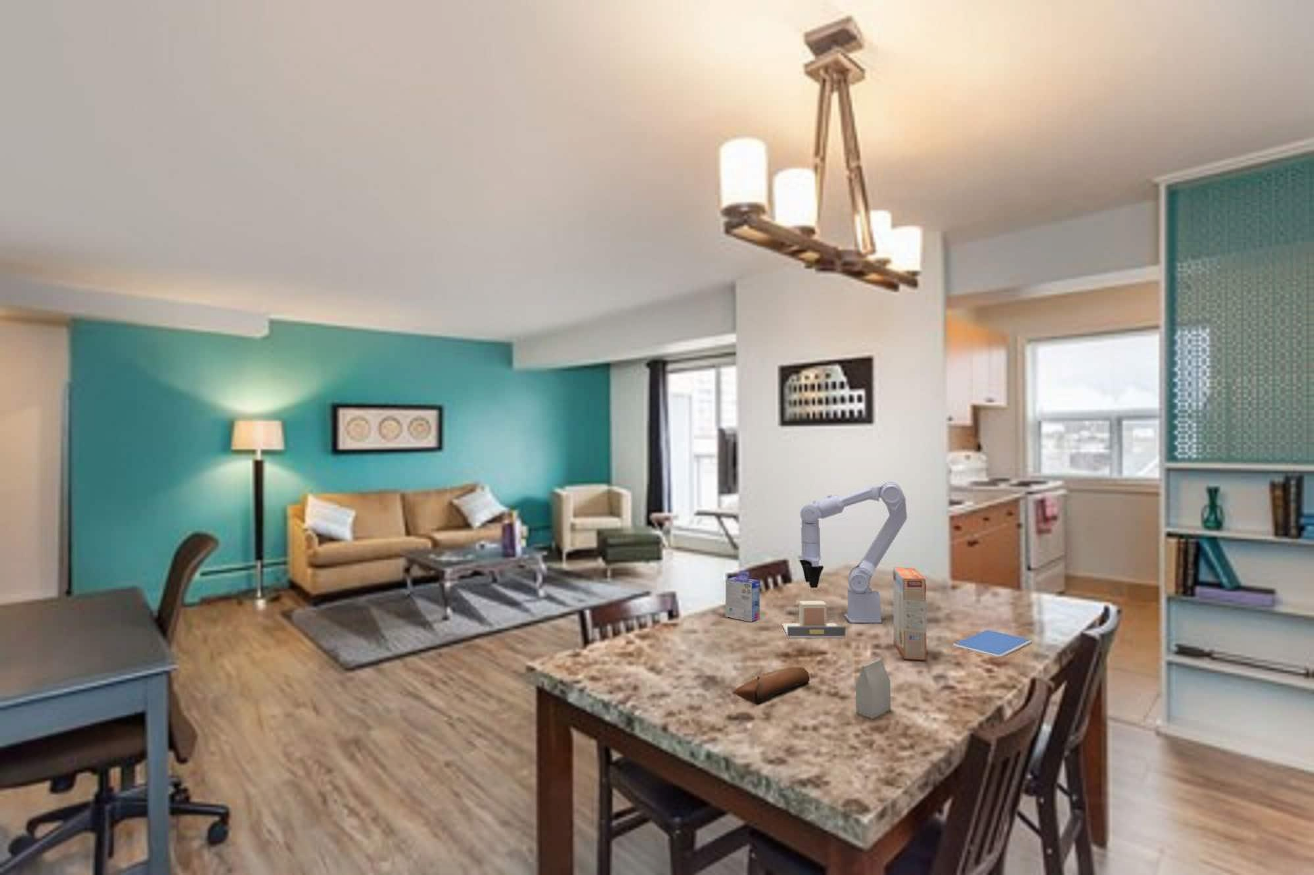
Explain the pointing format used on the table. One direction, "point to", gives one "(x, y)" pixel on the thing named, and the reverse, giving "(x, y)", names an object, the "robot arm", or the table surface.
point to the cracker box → (909, 613)
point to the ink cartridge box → (743, 598)
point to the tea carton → (812, 613)
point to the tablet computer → (992, 643)
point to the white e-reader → (814, 631)
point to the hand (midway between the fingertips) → (811, 584)
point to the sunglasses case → (772, 683)
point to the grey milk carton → (873, 690)
